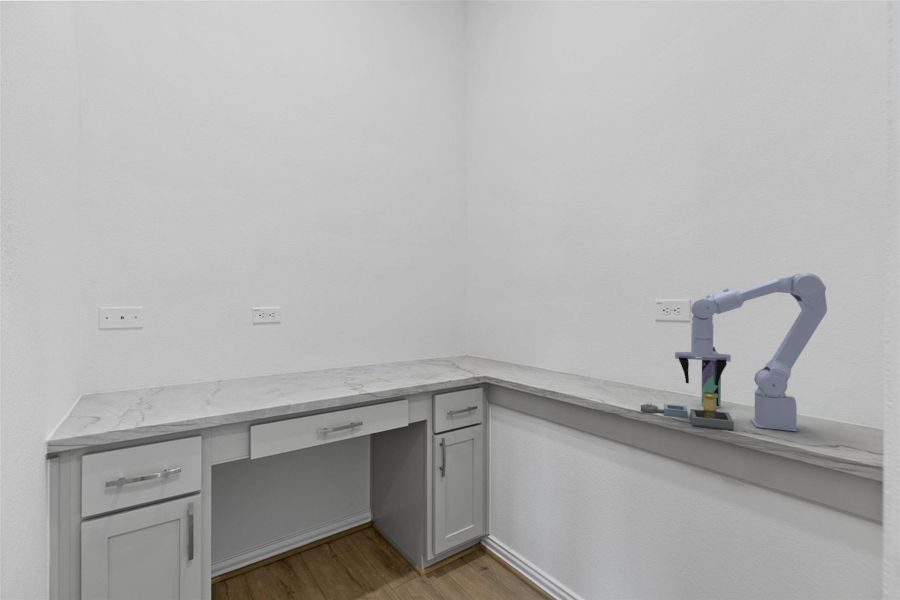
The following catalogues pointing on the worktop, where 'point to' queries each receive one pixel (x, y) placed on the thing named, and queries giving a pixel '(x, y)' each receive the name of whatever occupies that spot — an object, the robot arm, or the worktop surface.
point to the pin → (709, 404)
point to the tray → (712, 420)
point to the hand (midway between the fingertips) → (701, 383)
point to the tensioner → (666, 409)
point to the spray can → (710, 380)
